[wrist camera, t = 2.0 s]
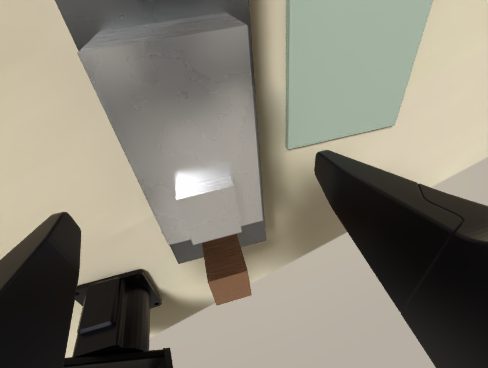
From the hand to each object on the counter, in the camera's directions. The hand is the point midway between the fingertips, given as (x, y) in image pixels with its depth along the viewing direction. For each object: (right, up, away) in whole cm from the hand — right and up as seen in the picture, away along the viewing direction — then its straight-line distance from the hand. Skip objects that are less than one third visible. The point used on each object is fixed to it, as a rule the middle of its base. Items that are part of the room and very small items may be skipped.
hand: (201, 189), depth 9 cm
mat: (+9, +8, +8) cm, 14 cm away
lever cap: (-1, +3, +4) cm, 5 cm away
